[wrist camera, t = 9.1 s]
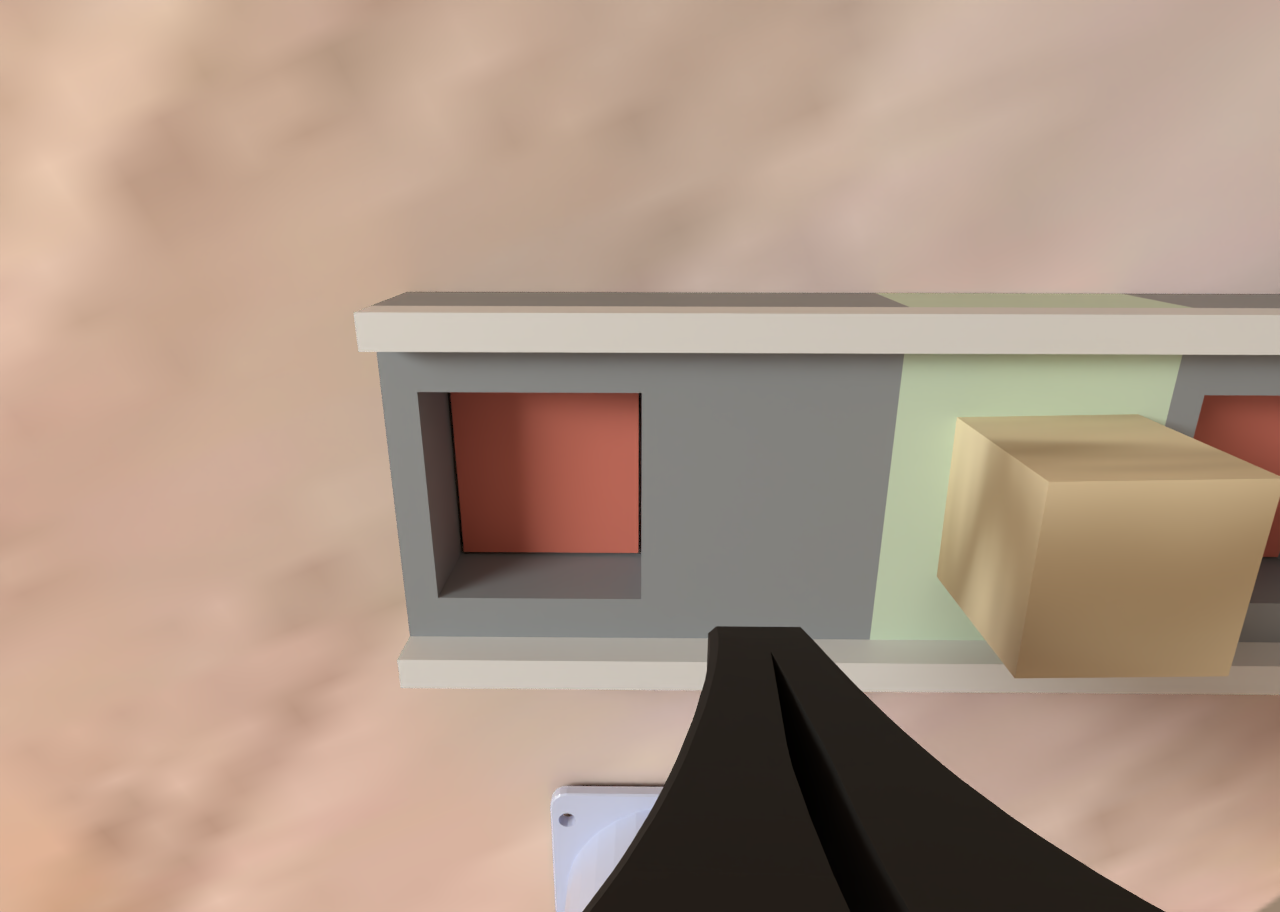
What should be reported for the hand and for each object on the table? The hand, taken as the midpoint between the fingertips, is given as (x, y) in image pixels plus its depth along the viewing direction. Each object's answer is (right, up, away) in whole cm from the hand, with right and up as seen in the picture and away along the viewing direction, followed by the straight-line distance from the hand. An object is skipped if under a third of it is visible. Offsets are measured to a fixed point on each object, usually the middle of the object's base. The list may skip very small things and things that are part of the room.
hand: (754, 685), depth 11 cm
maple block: (+7, +2, +6) cm, 10 cm away
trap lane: (+5, +3, +9) cm, 10 cm away
